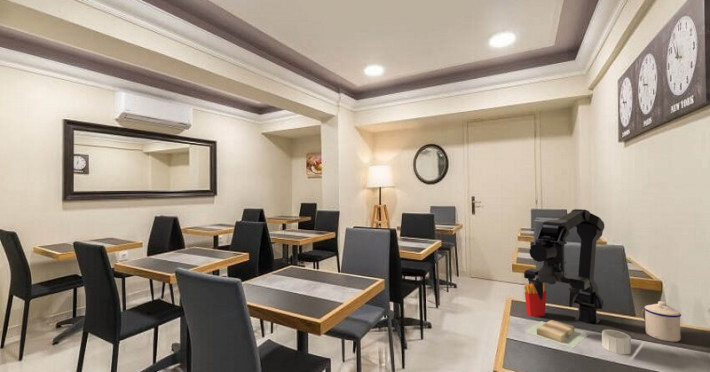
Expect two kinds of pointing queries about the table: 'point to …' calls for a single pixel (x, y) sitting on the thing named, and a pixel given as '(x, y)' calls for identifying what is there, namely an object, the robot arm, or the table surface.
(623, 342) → the bowl
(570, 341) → the mat
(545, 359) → the table surface
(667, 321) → the teacup with lid
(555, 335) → the beige flat block
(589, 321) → the robot arm
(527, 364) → the table surface
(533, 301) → the french fries
